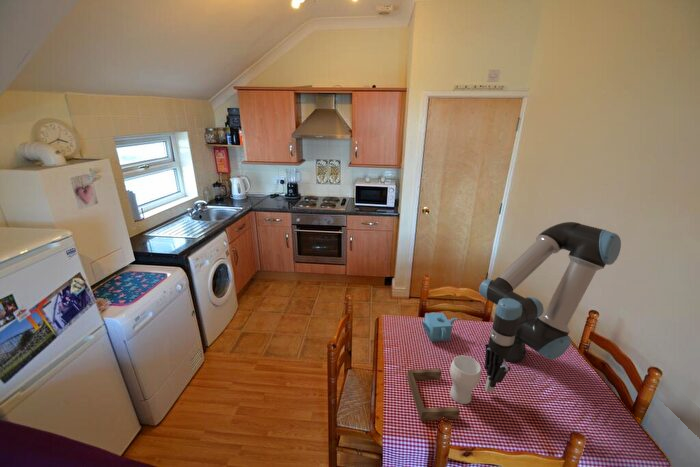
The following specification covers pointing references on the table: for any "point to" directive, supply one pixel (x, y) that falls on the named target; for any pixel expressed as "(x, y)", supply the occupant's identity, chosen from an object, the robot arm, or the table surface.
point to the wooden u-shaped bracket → (423, 412)
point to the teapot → (438, 326)
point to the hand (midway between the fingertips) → (488, 390)
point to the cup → (464, 378)
